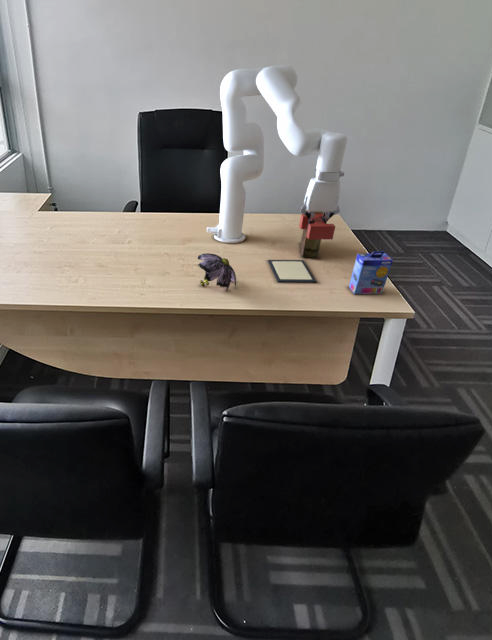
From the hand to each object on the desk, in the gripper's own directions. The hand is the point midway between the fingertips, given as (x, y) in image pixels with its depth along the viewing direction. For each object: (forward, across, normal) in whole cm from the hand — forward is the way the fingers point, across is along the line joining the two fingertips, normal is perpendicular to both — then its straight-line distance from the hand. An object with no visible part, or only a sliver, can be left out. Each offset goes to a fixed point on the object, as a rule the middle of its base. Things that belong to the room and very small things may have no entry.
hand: (315, 230), depth 165 cm
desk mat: (+15, +6, 0) cm, 16 cm away
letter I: (+1, 0, 0) cm, 1 cm away
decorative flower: (+15, +34, +12) cm, 39 cm away
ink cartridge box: (+15, -15, +15) cm, 26 cm away
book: (+15, -5, -19) cm, 25 cm away
